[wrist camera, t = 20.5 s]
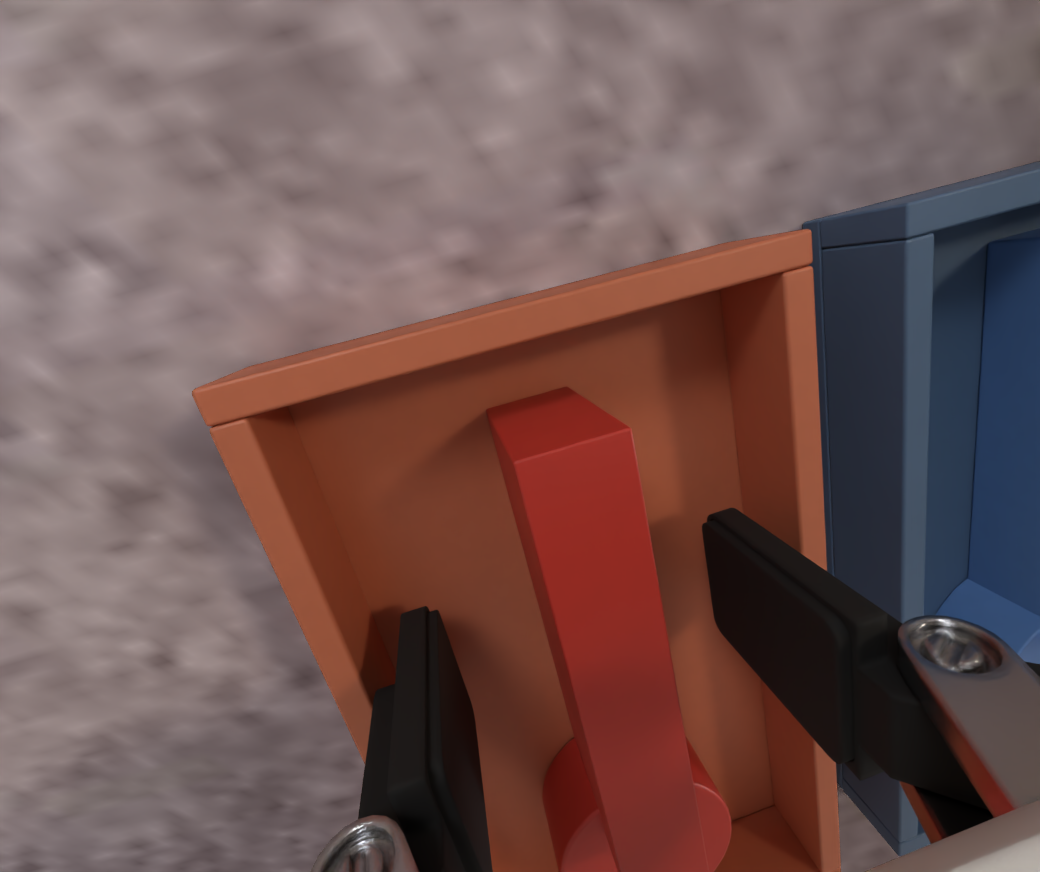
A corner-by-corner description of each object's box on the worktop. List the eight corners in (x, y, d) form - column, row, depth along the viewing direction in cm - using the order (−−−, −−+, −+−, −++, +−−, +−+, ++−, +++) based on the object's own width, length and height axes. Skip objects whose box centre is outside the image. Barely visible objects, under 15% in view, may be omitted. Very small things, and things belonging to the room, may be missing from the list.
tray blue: (801, 222, 11) (907, 202, 8) (1180, 124, 12) (1369, 81, 9) (830, 775, 16) (899, 858, 14) (1088, 673, 17) (1194, 734, 15)
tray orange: (247, 366, 9) (187, 390, 7) (726, 242, 11) (813, 227, 8) (478, 914, 15) (488, 1031, 12) (780, 794, 16) (842, 882, 14)
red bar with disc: (422, 426, 10) (421, 489, 7) (625, 369, 10) (715, 402, 7) (560, 857, 14) (599, 1022, 11) (700, 803, 15) (778, 947, 11)
